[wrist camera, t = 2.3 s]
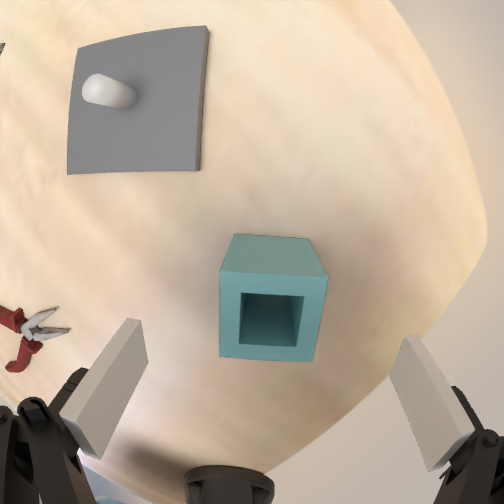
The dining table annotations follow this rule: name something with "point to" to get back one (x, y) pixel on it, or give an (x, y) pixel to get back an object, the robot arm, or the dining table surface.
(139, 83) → the pin base
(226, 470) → the robot arm
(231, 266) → the block with square hole
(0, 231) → the dining table surface
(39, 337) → the pliers
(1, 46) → the grey rectangular frame
